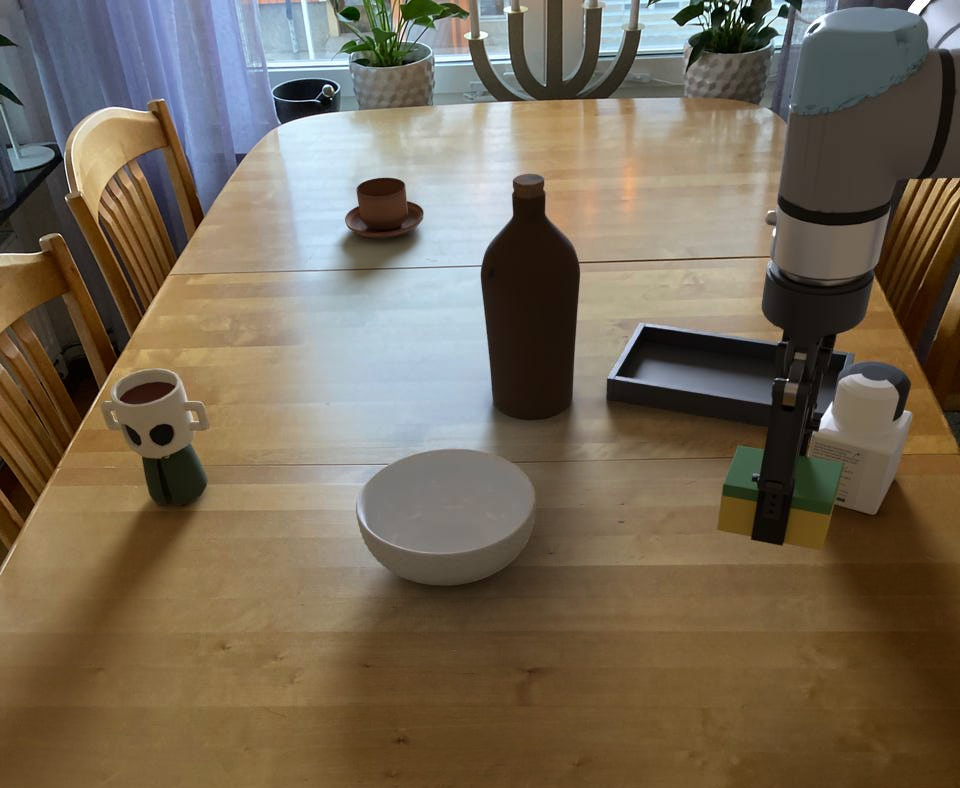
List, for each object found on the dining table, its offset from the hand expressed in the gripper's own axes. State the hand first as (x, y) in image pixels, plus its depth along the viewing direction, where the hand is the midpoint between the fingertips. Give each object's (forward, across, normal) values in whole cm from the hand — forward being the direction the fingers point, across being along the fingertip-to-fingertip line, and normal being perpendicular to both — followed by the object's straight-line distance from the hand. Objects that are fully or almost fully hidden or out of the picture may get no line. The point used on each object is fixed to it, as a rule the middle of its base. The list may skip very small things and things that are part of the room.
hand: (775, 516), depth 88 cm
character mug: (+7, +6, -61) cm, 62 cm away
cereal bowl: (+7, +6, -29) cm, 31 cm away
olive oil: (+7, -23, -31) cm, 39 cm away
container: (+8, -17, +5) cm, 19 cm away
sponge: (0, 0, 0) cm, 0 cm away
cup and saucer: (+7, -61, -69) cm, 93 cm away
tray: (+7, -32, -10) cm, 34 cm away
